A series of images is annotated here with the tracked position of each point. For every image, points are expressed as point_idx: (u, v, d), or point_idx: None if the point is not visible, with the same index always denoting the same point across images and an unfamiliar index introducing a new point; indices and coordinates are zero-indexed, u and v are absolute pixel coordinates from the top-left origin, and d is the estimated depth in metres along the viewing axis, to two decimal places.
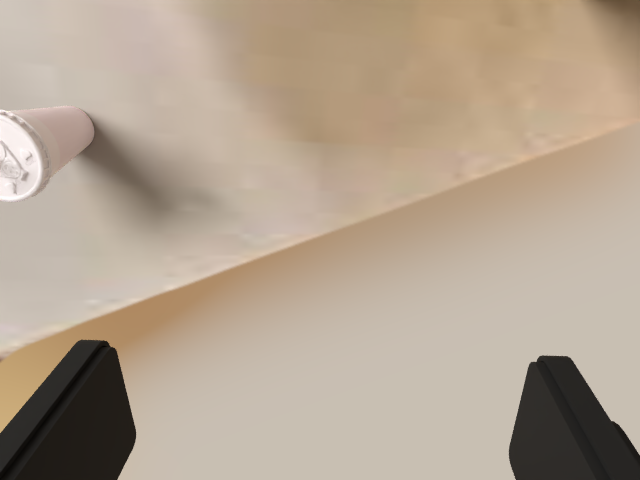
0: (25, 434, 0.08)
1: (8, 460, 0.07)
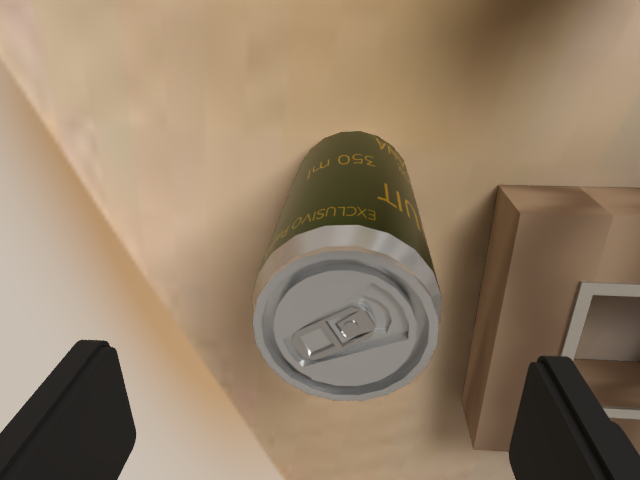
0: (25, 434, 0.08)
1: (9, 460, 0.07)
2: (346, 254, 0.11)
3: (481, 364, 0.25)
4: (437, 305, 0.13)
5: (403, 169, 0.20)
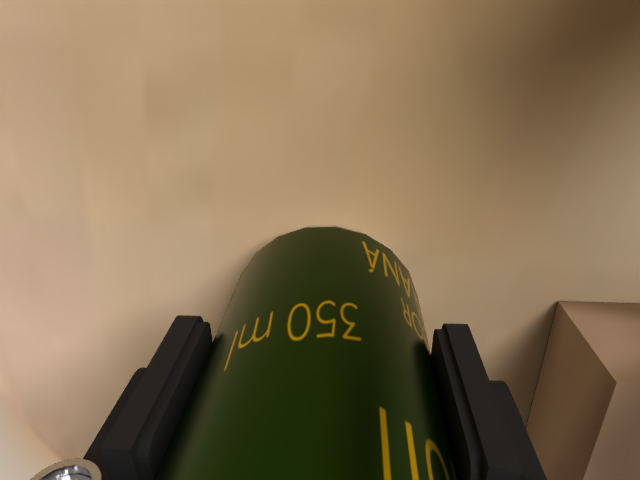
0: (155, 394, 0.09)
1: (148, 415, 0.08)
2: None
3: None
4: None
5: (410, 304, 0.11)
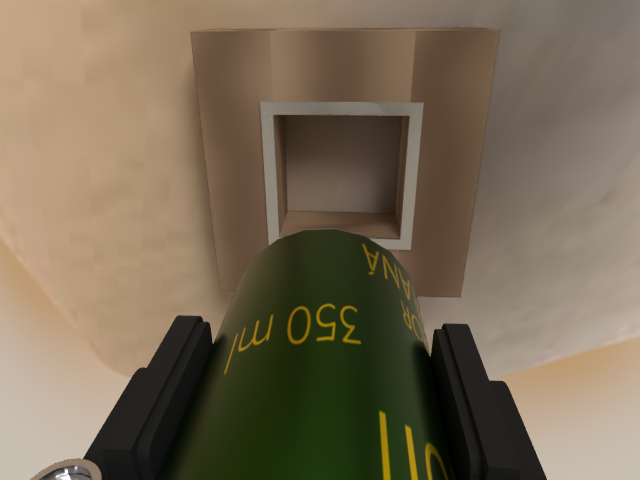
0: (155, 394, 0.09)
1: (148, 415, 0.08)
2: None
3: None
4: None
5: (410, 306, 0.11)
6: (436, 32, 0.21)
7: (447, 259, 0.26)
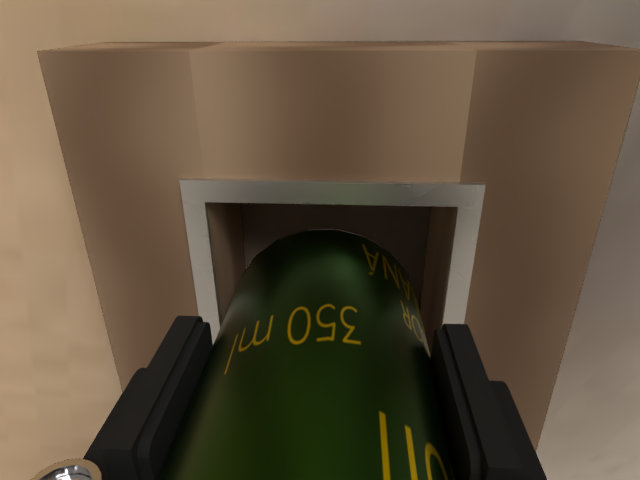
0: (155, 394, 0.09)
1: (148, 415, 0.08)
2: None
3: None
4: None
5: (410, 307, 0.11)
6: (518, 54, 0.11)
7: None
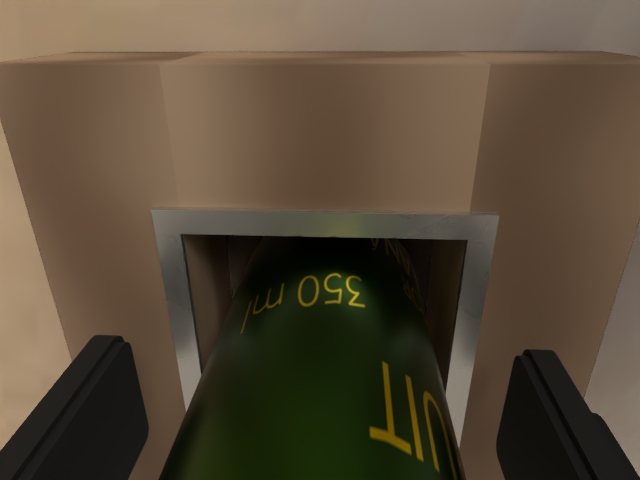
0: (46, 426, 0.08)
1: (32, 451, 0.08)
2: None
3: None
4: None
5: (410, 281, 0.12)
6: (538, 68, 0.09)
7: None
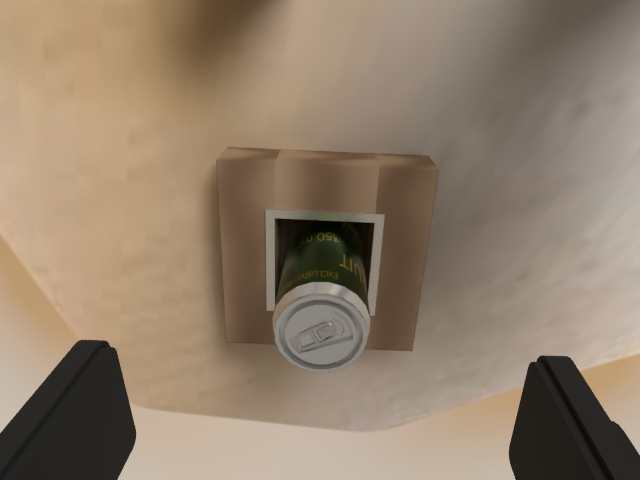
0: (25, 434, 0.08)
1: (9, 460, 0.07)
2: (322, 297, 0.24)
3: None
4: (367, 322, 0.25)
5: (356, 239, 0.32)
6: (394, 168, 0.30)
7: (402, 322, 0.34)
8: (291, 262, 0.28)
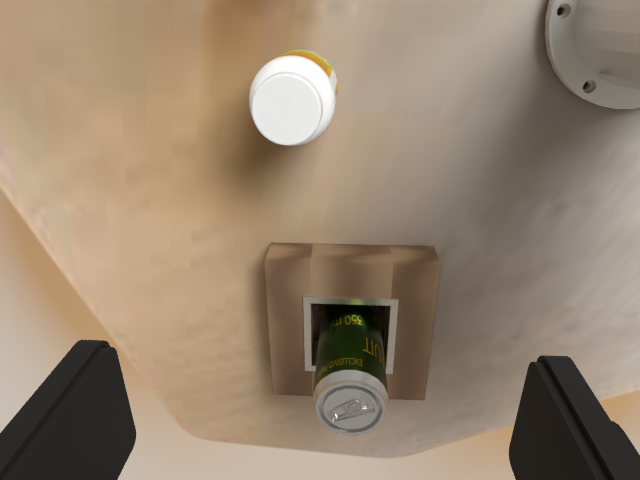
0: (25, 434, 0.08)
1: (9, 460, 0.07)
2: (351, 383, 0.32)
3: None
4: (385, 398, 0.33)
5: (376, 315, 0.40)
6: (404, 266, 0.37)
7: (415, 379, 0.42)
8: (325, 344, 0.36)
